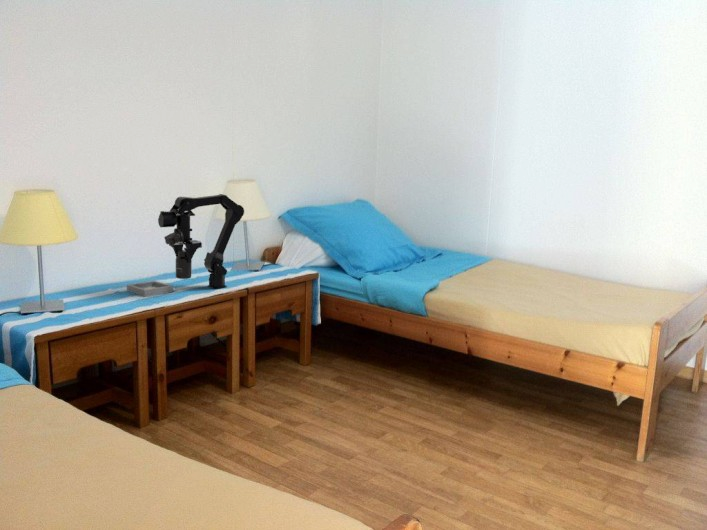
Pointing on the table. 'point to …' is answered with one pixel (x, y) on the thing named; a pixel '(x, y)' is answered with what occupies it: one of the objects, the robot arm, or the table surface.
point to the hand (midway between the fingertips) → (183, 261)
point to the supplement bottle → (183, 266)
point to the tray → (149, 288)
